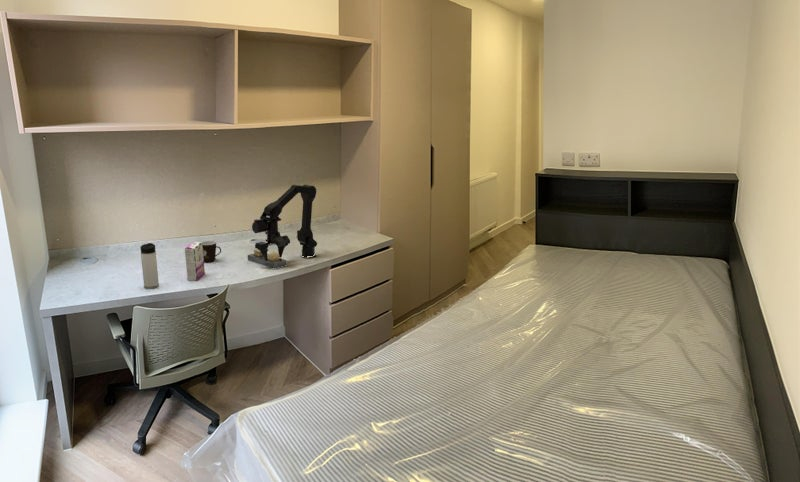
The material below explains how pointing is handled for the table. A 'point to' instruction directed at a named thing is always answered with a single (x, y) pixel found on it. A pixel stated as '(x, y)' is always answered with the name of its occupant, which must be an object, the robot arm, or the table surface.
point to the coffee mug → (209, 251)
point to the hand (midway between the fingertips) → (273, 259)
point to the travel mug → (149, 266)
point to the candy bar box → (194, 261)
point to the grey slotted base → (266, 263)
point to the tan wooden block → (272, 257)
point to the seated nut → (257, 253)
